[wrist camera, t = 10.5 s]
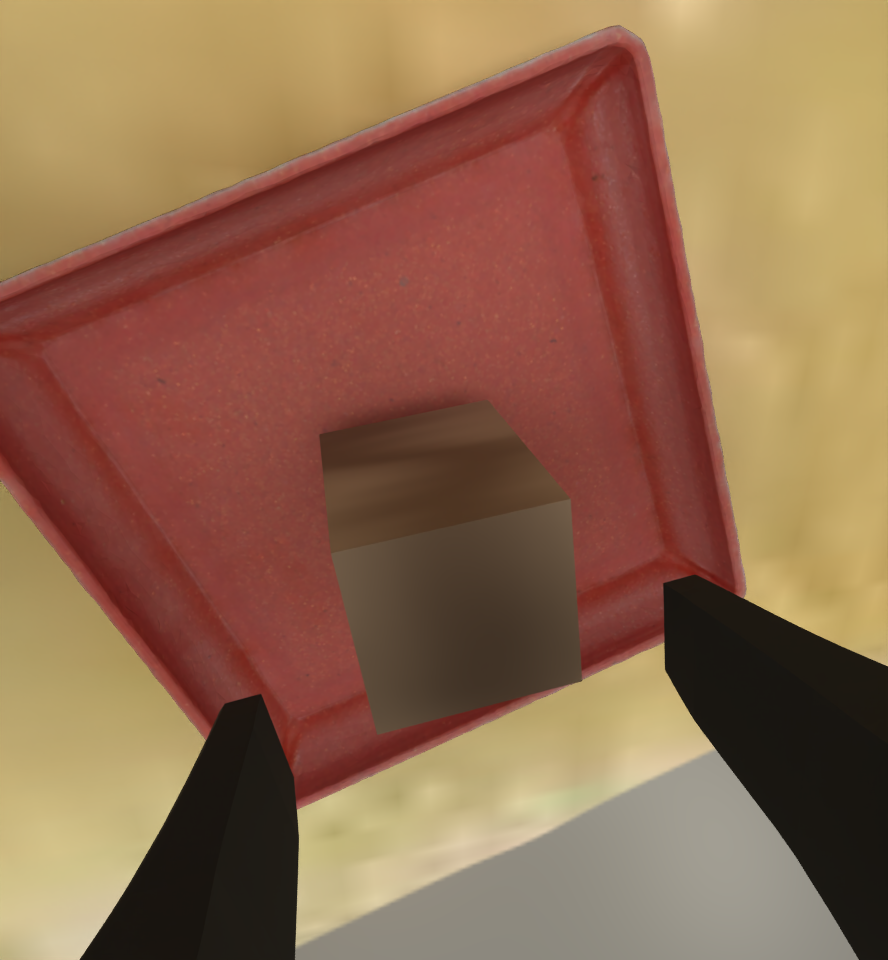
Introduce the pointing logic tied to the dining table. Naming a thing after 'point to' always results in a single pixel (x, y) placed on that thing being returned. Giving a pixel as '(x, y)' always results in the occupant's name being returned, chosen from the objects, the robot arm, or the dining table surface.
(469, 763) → the dining table surface
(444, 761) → the dining table surface
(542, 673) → the walnut block
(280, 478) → the plant saucer
